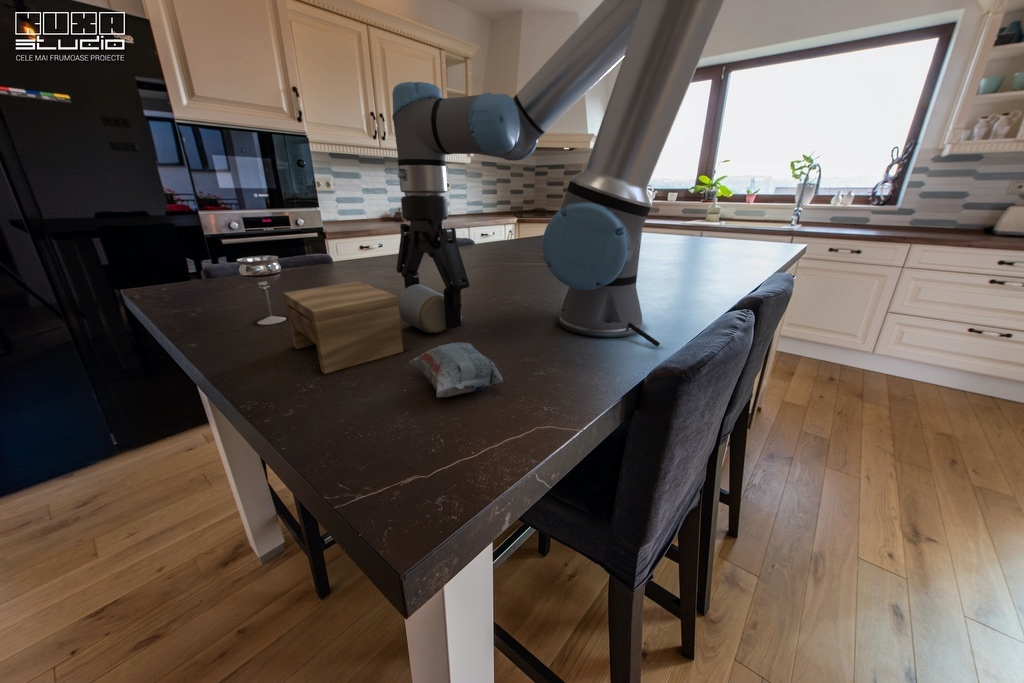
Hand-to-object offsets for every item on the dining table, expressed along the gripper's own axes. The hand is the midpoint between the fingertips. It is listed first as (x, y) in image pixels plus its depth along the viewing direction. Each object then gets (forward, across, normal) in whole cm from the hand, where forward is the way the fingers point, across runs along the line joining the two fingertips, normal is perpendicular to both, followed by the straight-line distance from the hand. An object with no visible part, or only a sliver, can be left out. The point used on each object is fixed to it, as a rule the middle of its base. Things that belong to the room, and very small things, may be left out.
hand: (432, 318), depth 73 cm
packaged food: (+2, +22, -11) cm, 25 cm away
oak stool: (+2, 0, -16) cm, 16 cm away
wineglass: (+2, -25, -21) cm, 33 cm away
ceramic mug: (+2, 0, 0) cm, 2 cm away
